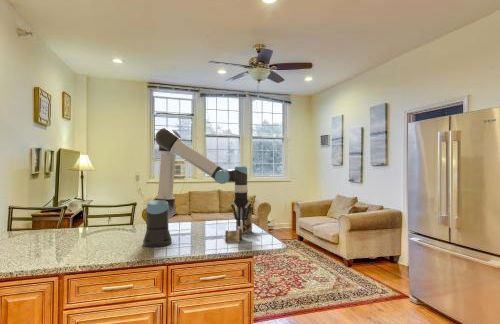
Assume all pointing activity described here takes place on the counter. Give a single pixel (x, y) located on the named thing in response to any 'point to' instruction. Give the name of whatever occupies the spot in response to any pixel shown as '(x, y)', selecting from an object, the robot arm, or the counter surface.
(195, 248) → the counter surface
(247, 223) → the coffee box
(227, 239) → the fence fixed section
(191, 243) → the counter surface
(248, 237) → the card
